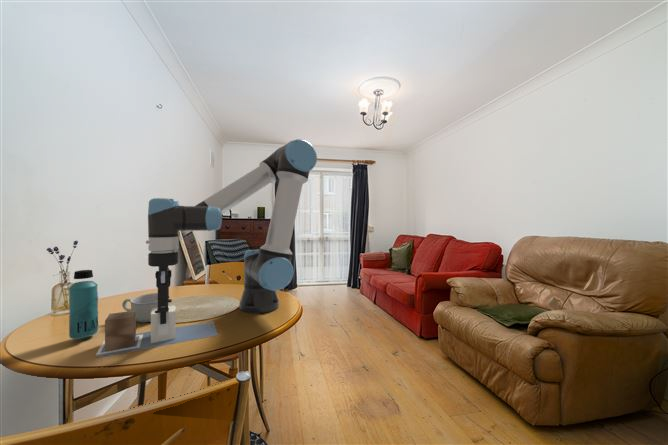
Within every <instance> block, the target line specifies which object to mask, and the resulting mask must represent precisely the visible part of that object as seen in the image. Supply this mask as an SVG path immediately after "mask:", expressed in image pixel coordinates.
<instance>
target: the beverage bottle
mask: <svg viewBox="0 0 668 445" xmlns="http://www.w3.org/2000/svg"><path fill="white" fill-rule="evenodd" d="M93 273H94V272H93V270H92V269H81V270H75V271H74V273H73V280H82V281H77V282H74V283H72V284H71V285H70V286H69V287H68V292H69V294H68V295H69V296H68V299H69V300H68V301H69V303H68V306H69V308H68V309H69V310H68V311H69V315H68V319H69V320H68V336H69V338H70V339H73V340H76V339H84V338H88V337H90V336H94V335H96V334H97V333H98V330H99V309H98V308H99V305H98V304H99V301H98V300H99V296H98V295H99V292H98V283H97V282H95V281H94V280H85V279H91V278H93V277H94V274H93Z"/></svg>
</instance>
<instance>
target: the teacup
mask: <svg viewBox="0 0 668 445" xmlns="http://www.w3.org/2000/svg"><path fill="white" fill-rule="evenodd" d="M128 302H130V307H129V306H128V304H127V303H128ZM152 308H158V292H152V293H144V294H141V295H137V296H135V297H133V298H131V297H128V298H125V299H124V300H123V301H122V309H123V310H125V312H128V311H135V310H136V322H138V323H142V324H143V323H151V311H152Z"/></svg>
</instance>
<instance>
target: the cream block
mask: <svg viewBox="0 0 668 445" xmlns="http://www.w3.org/2000/svg"><path fill="white" fill-rule="evenodd" d="M160 308H161V307H160ZM168 308H169V334H165V335H160V336H158V313H155V311H157V309H158V308H152V311H151V322H150V332H151V343H154V342H159V341H165V340H170V339H176V327H177V326H176V324H177V322H176V313H177V312H176V305H169V306H168Z"/></svg>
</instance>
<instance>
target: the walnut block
mask: <svg viewBox="0 0 668 445" xmlns="http://www.w3.org/2000/svg"><path fill="white" fill-rule="evenodd" d="M136 334H137V321H136V310H135V311H128V312H127V311H121V312H115V313H109V314H108V316H107V317H106V319H105V320H104V341H105V351H109V350H115V349H120V348H126V347H131V346H133V345H134V342H135V339H136Z"/></svg>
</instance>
